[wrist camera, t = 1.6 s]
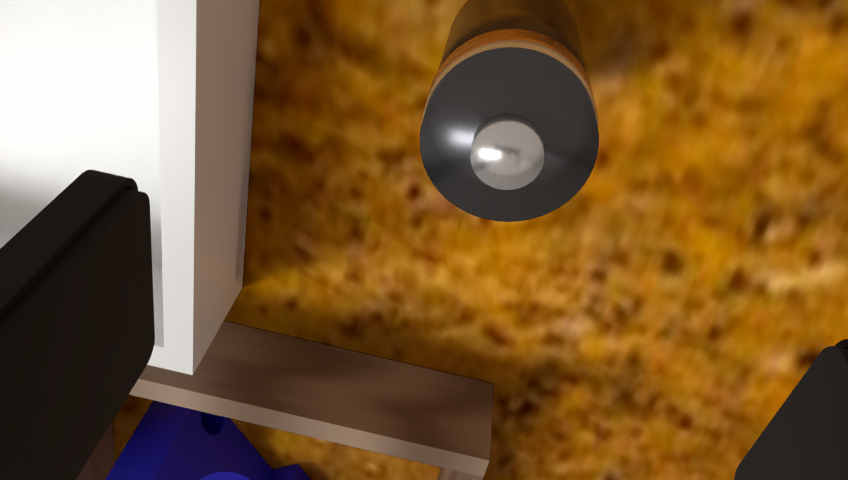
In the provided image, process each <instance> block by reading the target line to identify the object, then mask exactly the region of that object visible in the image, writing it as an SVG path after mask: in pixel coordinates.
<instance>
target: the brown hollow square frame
mask: <svg viewBox="0 0 848 480" xmlns="http://www.w3.org/2000/svg"><path fill="white" fill-rule="evenodd" d="M493 392H494V384H491V383H487V382H483V381H479V380H474V379H470V378H466V377H461V376H457V375H453V374H449V373H444V372H440V371H436V370H432V369H427V368H423V367H419V366H414V365H410V364H406V363H402V362H397V361H393V360H389V359H385V358H380V357H376V356H372V355H367V354H363V353H359V352H355V351H350V350H346V349H342V348H338V347H333V346H329V345H325V344H320V343H316V342H312V341H308V340H303V339H299V338H295V337H290V336H286V335H282V334H278V333H273V332H269V331H265V330H261V329H256V328H252V327H248V326H243V325H239V324H235V323H231V322H226V321H223V323H222V324H221V326H220V328H219V330H218V332H217V333H216V335H215V337H214V339H213V340H212V342H211V344H210V346H209V347H208V349H207V351H206V353H205V354H204V356H203V358H202V360H201V362H200V363H199V365H198V367H197V369H196V370H195V372H194V374H193V375H189V374H185V373H181V372H177V371H172V370H168V369H164V368H159V367H155V366H151V365H147V366H146V367H145V369H144V371H143V372H142V374H141V375H140V377H139V379H138V380H137V382H136V383H135V385H134V387H133V388H132V390H131V392H130V393H129V395H133V396H137V397H142V398H146V399H150V400H154V401H159V402H163V403H167V404H172V405H176V406H180V407H185V408H189V409H193V410H197V411H202V412H206V413H210V414H215V415H219V416H223V417H227V418H232V419H236V420H240V421H245V422H249V423H253V424H257V425H262V426H266V427H270V428H275V429H279V430H283V431H287V432H292V433H296V434H300V435H305V436H309V437H313V438H317V439H322V440H326V441H330V442H335V443H339V444H343V445H348V446H352V447H356V448H360V449H365V450H369V451H373V452H378V453H382V454H386V455H390V456H395V457H399V458H403V459H408V460H412V461H416V462H420V463H425V464H429V465H433V466H438V467H441V470H440V473H439V476H438V479H437V480H482V479H483V477H484V474H485V472H486V469H487V466H488V464H489V461H490V447H491V429H492V410H493ZM115 463H116V460H115V448H114V437H113V425H112V422H111V424H110V425H109V427H108V429H107V430H106V432H105V433H104V435H103V437H102V438H101V440H100V442H99V443H98V445H97V446H96V448H95V450H94V451H93V453H92V454H91V456H90V458H89V459H88V461H87V462H86V464H85V466H84V467H83V469H82V471H81V472H80V474H79V475H78V477H77V479H76V480H105V479H106V477H107V476H108V474H109V472H110V471H111V469H112V468H113V466H114V464H115Z"/></svg>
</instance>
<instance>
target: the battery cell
mask: <svg viewBox="0 0 848 480" xmlns="http://www.w3.org/2000/svg"><path fill="white" fill-rule="evenodd" d="M598 146H599V134H598V117H597V110H596V105H595V101H594V96H593V92H592V88H591V84H590V81H589V78H588V76H587V74H586V69H585V64H584V60H583V55H582V50H581V45H580V41H579V36H578V31H577V27H576V24H575V21H574V19H573V17H572V14H571V13H570V11H569V10H568V8H567V6H566V5H565V4H564V3H563V2H562V1H561V0H468V1H467V2H466V3H465V5H464V6H463V7H462V8H461V10H460V11H459V13H458V14H457V16H456V18H455V20H454V22H453V25H452V27H451V31H450V34H449V37H448V40H447V44H446V47H445V50H444V53H443V56H442V60H441V63H440V66H439V69H438V72H437V73H436V75H435V78H434V80H433V82H432V85H431V88H430V91H429V95H428V98H427V101H426V104H425V108H424V111H423V119H422V125H421V131H420V151H421V157H422V161H423V164H424V167H425V169H426V172H427V174H428V176H429V178H430V179H431V181H432V183H433V184H434V186H435V187H436V188H437V189H438V191H439V192H440V193H441V194H442V195H443V196H444V197H445V198H446V199H447V200H448V201H450V202H451V203H452V204H454V205H455V206H456V207H458V208H460V209H462V210H463V211H465V212H467V213H470V214H472V215H474V216H477V217H481V218H484V219H488V220H494V221H505V222H512V221H523V220H529V219H533V218H536V217H540V216H542V215H545V214H547V213H550V212H552V211H554V210H555V209H557V208H559V207H561V206H562V205H563V204H565V203H566V202H568V201H569V200H570V199H571V198H572V197H573V196H574V195H575V194H577V192H578V191H579V190H580V189H581V188H582V186H583V185H584V184H585V182H586V181H587V179H588V177H589V176H590V174H591V171H592V169H593V167H594V164H595V161H596V158H597V153H598Z"/></svg>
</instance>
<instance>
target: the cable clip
mask: <svg viewBox="0 0 848 480" xmlns="http://www.w3.org/2000/svg"><path fill="white" fill-rule="evenodd" d="M105 480H311V479H310V478H309V477H308V475H307V474H306V473H305V472H304V471H303V469H302V468H301V467H300V466H299V464H294V465H290V466H285V467H281V468H277V469H272V468H271V467H270V466H269V465H268V463H267V462H266V461H265V460H264V459H263V457H262V456H261V455H260V454H259V453H258V451H257V450H256V449H255V448H254V447H253V445H252V444H251V443H250V442H249V441H248V439H247V438H246V437H245V436H244V435H243V434H242V432H241V431H240V430H239V429H238V428H237V426H236V425H235V424H234V423H233V422H232V420H231V419H230V418H227V417H223V416H219V415H215V414H210V413H206V412H202V411H197V410H193V409H189V408H185V407H180V406H176V405H172V404H167V403H163V402H159V401H153V402H152V403H151V405H150V407H149V408H148V410H147V412H146V413H145V415H144V416H143V418H142V420H141V421H140V423H139V425H138V426H137V428H136V430H135V431H134V433H133V435H132V436H131V438H130V440H129V441H128V443H127V444H126V446H125V448H124V449H123V451H122V453H121V454H120V456H119V458H118V459H117V461H116V463H115V464H114V466H113V468H112V469H111V471H110V472H109V474H108V476H107V477H106V479H105Z"/></svg>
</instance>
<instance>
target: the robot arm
mask: <svg viewBox="0 0 848 480" xmlns="http://www.w3.org/2000/svg"><path fill="white" fill-rule="evenodd" d="M154 343H155V327H154V300H153V274H152V247H151V221H150V201H149V197H148V194H146V193H145V192H141V191H138V186H137V184H136V182H135V180H133V179H132V178H128V177H123V176H119V175H114V174H110V173H105V172H101V171H96V170H86V171H85V172H83V173H82V174H81V175H79V176H78V177H77V178H76V179H75V180H74V181H73V182H72V183H71V184H70V185H69V186H68V187H66V188H65V189H64V190H63V191H62V192H61V193H60V194H59V195H58V196H57V197H56V198H55V199H53V200H52V201H51V202H50V203H49V204H48V205H47V206H46V207H45V208H44V209H43V210H42V211H40V212H39V213H38V214H37V215H36V216H35V217H34V218H33V219H32V220H31V221H30V222H29V223H27V224H26V225H25V226H24V227H23V228H22V229H21V230H20V231H19V232H18V233H17V234H16V235H15V236H13V237H12V238H11V239H10V240H9V241H8V242H7V243H6V244H5V245H4V246H3V247H2V248H0V480H76V479H77V477H78V475H79V474H80V472H81V471H82V469H83V467H84V466H85V464H86V462H87V461H88V459H89V458H90V456H91V454H92V453H93V451H94V450H95V448H96V446H97V445H98V443H99V442H100V440H101V438H102V437H103V435H104V433H105V432H106V430H107V429H108V427H109V425H110V424H111V422H112V421H113V419H114V417H115V416H116V414H117V412H118V411H119V409H120V408H121V406H122V404H123V403H124V401H125V400H126V398H127V396H128V395H129V393H130V392H131V390H132V388H133V387H134V385H135V383H136V382H137V380H138V379H139V377H140V375H141V374H142V372H143V371H144V369H145V367H146V366H147V364H148V362H149V360H150V357H151V355H152V352H153V348H154ZM734 480H848V339H844V340H842V341H840V342H838V343H837V344H836V345H835V346H829V347H827V348H825V349H824V350H823V351H822V352H821V353H820V354H819V355H818V357H817V358H816V359H815V361H814V362H813V364H812V365H811V366H810V368H809V369H808V370H807V372H806V373H805V375H804V376H803V377H802V379H801V380H800V381H799V383H798V384H797V386H796V387H795V388H794V390H793V391H792V393H791V394H790V395H789V397H788V398H787V399H786V401H785V402H784V404H783V405H782V406H781V408H780V409H779V410H778V412H777V413H776V415H775V416H774V417H773V419H772V420H771V421H770V423H769V424H768V426H767V427H766V428H765V430H764V431H763V432H762V434H761V435H760V437H759V438H758V439H757V441H756V442H755V444H754V445H753V446H752V448H751V449H750V450H749V452H748V453H747V455H746V456H745V457H744V459H743V460H742V461H741V463H740V464H739V466H738V468H737V470H736V473H735V479H734Z"/></svg>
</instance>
